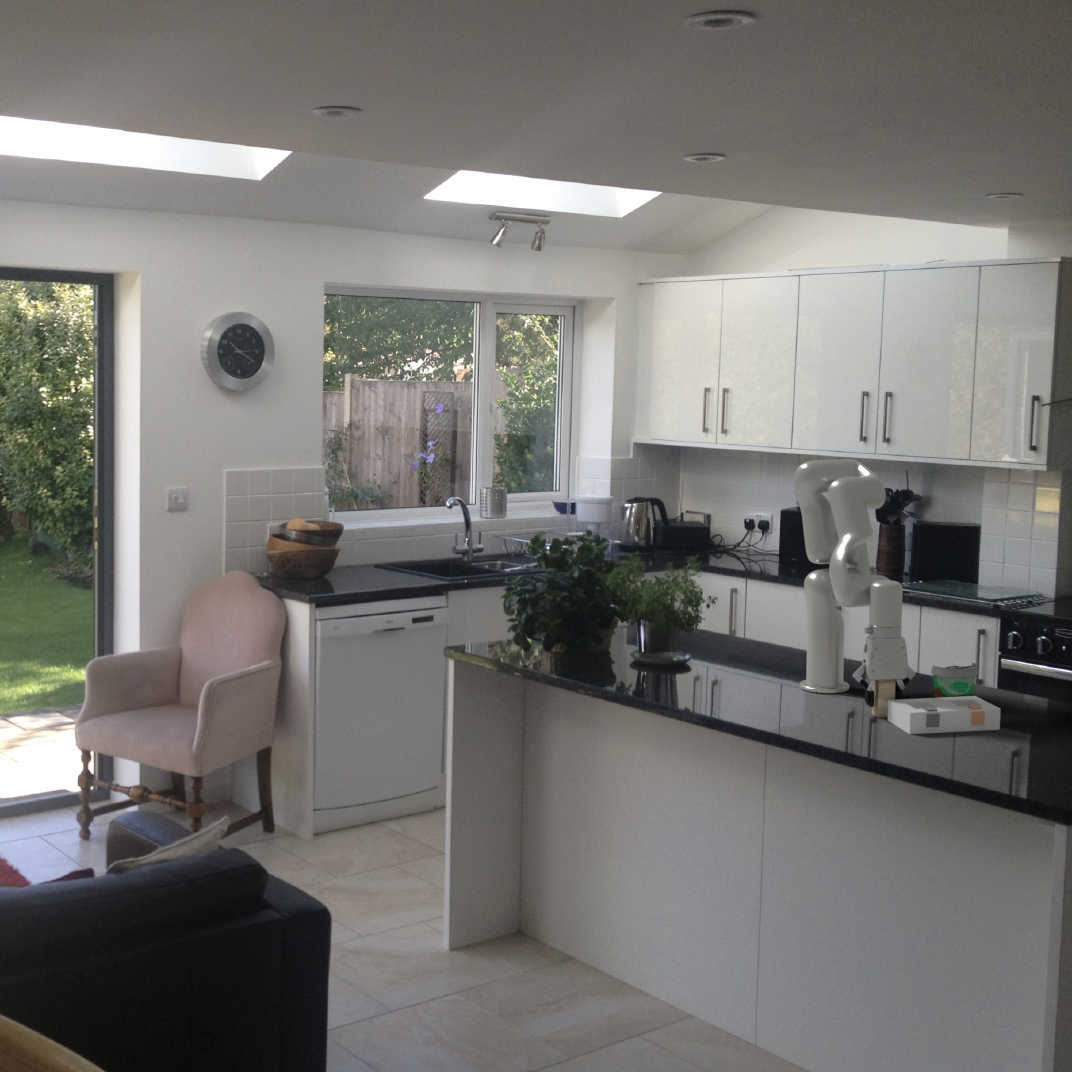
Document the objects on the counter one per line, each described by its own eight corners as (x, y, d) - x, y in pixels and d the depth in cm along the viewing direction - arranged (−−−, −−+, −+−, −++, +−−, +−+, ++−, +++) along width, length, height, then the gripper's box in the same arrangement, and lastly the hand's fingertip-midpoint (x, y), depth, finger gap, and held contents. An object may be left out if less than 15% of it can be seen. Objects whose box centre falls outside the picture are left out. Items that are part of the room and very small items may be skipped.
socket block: (887, 720, 303) (888, 698, 302) (974, 716, 306) (975, 694, 306) (910, 734, 291) (910, 711, 290) (1000, 730, 294) (1001, 707, 294)
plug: (871, 713, 310) (872, 673, 309) (887, 712, 310) (888, 672, 309) (878, 717, 306) (879, 676, 305) (894, 716, 306) (895, 676, 305)
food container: (944, 710, 312) (945, 670, 310) (929, 704, 318) (931, 665, 316) (987, 706, 315) (989, 667, 314) (973, 701, 321) (974, 662, 320)
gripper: (857, 636, 301) (855, 710, 303) (926, 633, 303) (923, 707, 305) (844, 630, 308) (843, 702, 310) (912, 627, 311) (910, 699, 313)
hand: (883, 704), depth 308 cm, fingers open, 6 cm apart
